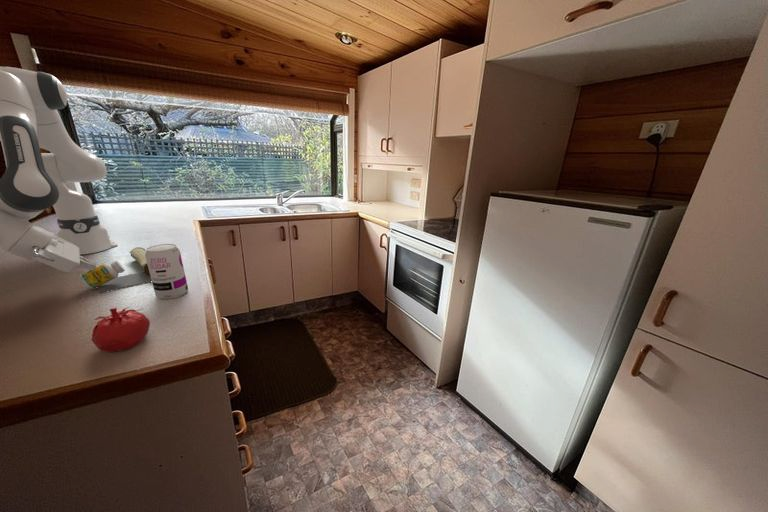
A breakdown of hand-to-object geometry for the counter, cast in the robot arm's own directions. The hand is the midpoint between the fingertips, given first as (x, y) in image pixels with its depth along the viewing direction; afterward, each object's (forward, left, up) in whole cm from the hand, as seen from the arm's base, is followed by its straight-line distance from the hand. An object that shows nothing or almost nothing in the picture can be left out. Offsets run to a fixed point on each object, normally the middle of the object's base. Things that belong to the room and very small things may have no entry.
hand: (94, 267), depth 90 cm
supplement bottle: (0, -3, -4) cm, 5 cm away
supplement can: (+20, +15, -7) cm, 26 cm away
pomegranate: (+41, +2, -7) cm, 41 cm away
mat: (0, +8, -7) cm, 11 cm away
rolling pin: (-11, +13, -7) cm, 18 cm away
